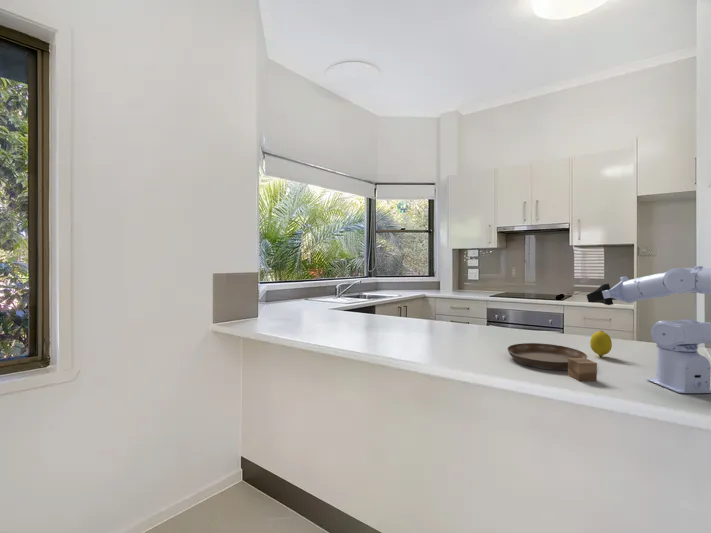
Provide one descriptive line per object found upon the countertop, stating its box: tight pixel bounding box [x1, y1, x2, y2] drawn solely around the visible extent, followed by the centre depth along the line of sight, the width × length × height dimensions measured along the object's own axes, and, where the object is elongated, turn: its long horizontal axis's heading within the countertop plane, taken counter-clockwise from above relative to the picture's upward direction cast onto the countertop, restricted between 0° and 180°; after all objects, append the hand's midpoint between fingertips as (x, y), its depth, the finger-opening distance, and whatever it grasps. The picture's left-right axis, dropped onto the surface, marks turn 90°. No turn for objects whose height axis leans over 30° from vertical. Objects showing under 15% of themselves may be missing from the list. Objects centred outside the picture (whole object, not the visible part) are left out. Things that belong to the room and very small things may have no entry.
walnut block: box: [567, 358, 598, 382], centre depth 96 cm, size 4×4×4 cm
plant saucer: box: [506, 342, 588, 371], centre depth 111 cm, size 21×21×3 cm
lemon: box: [589, 330, 613, 358], centre depth 117 cm, size 6×6×8 cm
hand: (598, 297), depth 110 cm, fingers open, 7 cm apart
